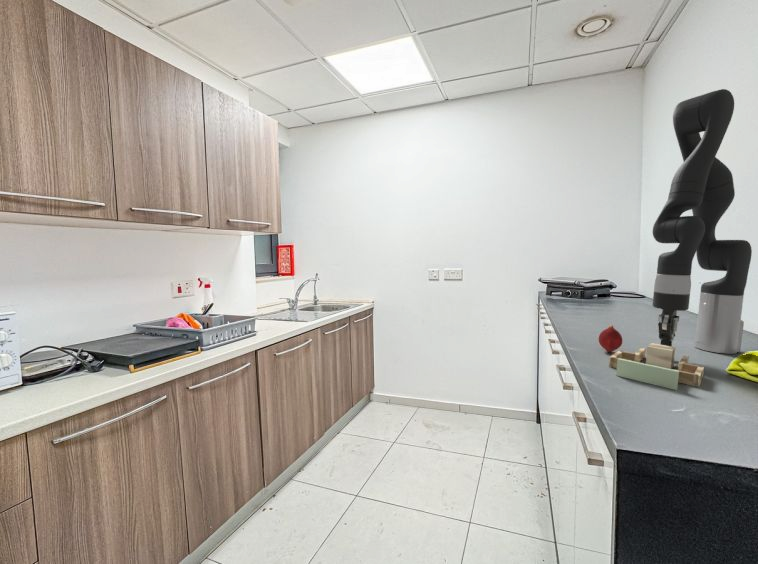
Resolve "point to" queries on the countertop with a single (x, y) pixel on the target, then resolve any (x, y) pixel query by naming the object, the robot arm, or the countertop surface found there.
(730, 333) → the robot arm
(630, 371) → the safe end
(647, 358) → the block
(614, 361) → the channel
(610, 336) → the onion
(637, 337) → the countertop surface
